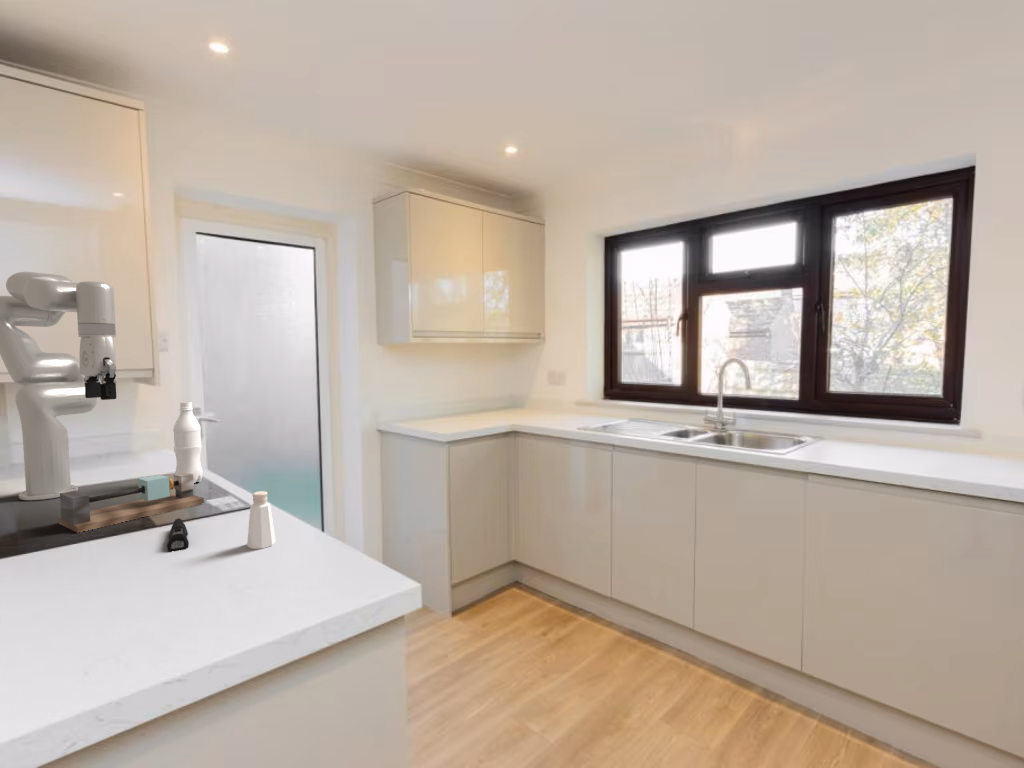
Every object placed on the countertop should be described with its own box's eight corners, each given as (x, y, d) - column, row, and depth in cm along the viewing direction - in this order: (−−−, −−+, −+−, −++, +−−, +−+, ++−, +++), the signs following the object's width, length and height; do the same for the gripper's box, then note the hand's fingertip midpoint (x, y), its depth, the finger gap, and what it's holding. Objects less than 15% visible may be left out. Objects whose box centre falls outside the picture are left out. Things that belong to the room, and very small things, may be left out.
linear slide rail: (77, 533, 118) (76, 499, 117) (58, 523, 124) (56, 492, 124) (203, 503, 140) (202, 475, 139) (181, 496, 147) (180, 470, 146)
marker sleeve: (148, 500, 132) (147, 481, 132) (139, 497, 135) (138, 478, 134) (169, 496, 136) (169, 477, 136) (160, 493, 139) (160, 474, 139)
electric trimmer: (188, 529, 121) (188, 516, 121) (188, 550, 108) (188, 535, 108) (169, 532, 119) (168, 518, 119) (167, 554, 106) (166, 538, 106)
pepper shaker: (247, 551, 107) (245, 497, 106) (246, 542, 111) (245, 491, 111) (276, 546, 109) (275, 494, 108) (275, 538, 114) (273, 488, 113)
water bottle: (190, 487, 157) (186, 403, 156) (169, 485, 159) (166, 403, 157) (208, 481, 164) (205, 401, 163) (188, 480, 166) (185, 400, 164)
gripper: (66, 331, 136) (70, 398, 137) (92, 330, 126) (96, 401, 127) (101, 332, 142) (104, 396, 143) (129, 331, 132) (132, 399, 134)
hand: (100, 398), depth 135 cm, fingers open, 9 cm apart
